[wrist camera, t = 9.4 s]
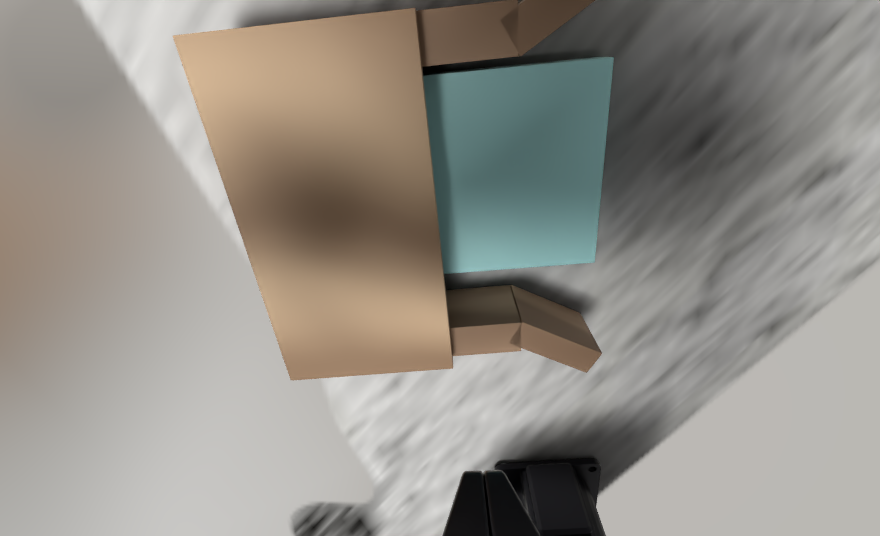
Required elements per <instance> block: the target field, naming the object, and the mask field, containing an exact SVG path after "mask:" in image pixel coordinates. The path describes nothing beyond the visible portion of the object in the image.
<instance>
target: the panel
mask: <svg viewBox="0 0 880 536" xmlns="http://www.w3.org/2000/svg"><path fill="white" fill-rule="evenodd" d="M613 61H614V57H593V58H583V59H573V60H563V61H552V62H542V63H532V64H522V65H511V66H501V67H491V68H481V69H470V70H460V71H450V72H440V73H429V74H423V80H424V89H425V99H426V108H427V118H428V127H429V137H430V146H431V156H432V165H433V175H434V184H435V194H436V203H437V213H438V222H439V232H440V241H441V251H442V260H443V270H444V274H450V273H463V272H476V271H489V270H502V269H515V268H528V267H542V266H555V265H568V264H581V263H594V262H595V253H596V242H597V232H598V221H599V210H600V200H601V189H602V178H603V168H604V157H605V146H606V136H607V125H608V114H609V104H610V93H611V82H612V72H613Z"/></svg>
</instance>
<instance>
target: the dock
mask: <svg viewBox="0 0 880 536" xmlns="http://www.w3.org/2000/svg"><path fill="white" fill-rule="evenodd" d="M594 1H595V0H522V1H521V2H519V3H518V0H505V1H496V2H487V3H479V4H470V5H461V6H452V7H444V8H435V9H426V10H418V11H416V9H415V8H409V9H401V10H392V11H383V12H375V13H366V14H357V15H348V16H340V17H331V18H322V19H314V20H305V21H296V22H288V23H279V24H270V25H262V26H253V27H244V28H235V29H227V30H218V31H209V32H201V33H192V34H183V35H175V36H173V38H174V41H175V44H176V47H177V50H178V53H179V56H180V59H181V62H182V65H183V67H184V70H185V73H186V76H187V79H188V82H189V85H190V88H191V91H192V94H193V97H194V100H195V102H196V105H197V108H198V111H199V114H200V117H201V120H202V123H203V126H204V129H205V132H206V134H207V137H208V140H209V143H210V146H211V149H212V152H213V155H214V158H215V161H216V164H217V166H218V169H219V172H220V175H221V178H222V181H223V184H224V187H225V190H226V193H227V196H228V199H229V201H230V204H231V207H232V210H233V213H234V216H235V219H236V222H237V225H238V228H239V231H240V233H241V236H242V239H243V242H244V245H245V248H246V251H247V254H248V257H249V260H250V263H251V265H252V268H253V271H254V274H255V277H256V280H257V283H258V286H259V289H260V291H261V295H262V298H263V300H264V303H265V306H266V309H267V312H268V315H269V318H270V321H271V324H272V327H273V330H274V332H275V335H276V338H277V341H278V344H279V347H280V350H281V353H282V356H283V359H284V362H285V364H286V367H287V370H288V373H289V376H290V379H291V380H302V379H317V378H330V377H344V376H357V375H371V374H384V373H398V372H411V371H425V370H438V369H451V368H453V356H461V355H474V354H487V353H500V352H513V351H521V348H523V349H526V350H528V351H531V352H534V353H536V354H539V355H541V356H544V357H547V358H549V359H552V360H555V361H557V362H560V363H562V364H565V365H568V366H570V367H573V368H576V369H578V370H581V371H583V372H586V373H587V372H588V371H589V369H590V368H591V367H592V366H593V364H594V363H595V362H596V361H597V359H598V358H599V357H600V356H601V354H602V352H601V350H600V349H599V347H598V345H597V343H596V341H595V339H594V338H593V336H592V334H591V332H590V330H589V328H588V326H587V325H586V323H585V321H584V319H583V317H582V315H581V314H580V313H579V312H577V311H574V310H572V309H569V308H567V307H564V306H562V305H560V304H557V303H555V302H552V301H550V300H547V299H545V298H543V297H540V296H538V295H535V294H533V293H530V292H528V291H526V290H523V289H521V288H518V287H516V286H513V285H503V286H491V287H479V288H467V289H455V290H446V289H445V279H444V270H443V260H442V251H441V241H440V232H439V222H438V213H437V203H436V194H435V184H434V175H433V165H432V156H431V146H430V137H429V127H428V118H427V108H426V99H425V89H424V80H423V70H422V67H424V66H433V65H442V64H452V63H461V62H470V61H479V60H488V59H498V58H507V57H521V56H522V55H524V54H525V53H526V52H528V51H529V50H530V49H532V48H533V47H534V46H535V45H537V44H538V43H539V42H541V41H542V40H543V39H545V38H546V37H547V36H549V35H550V34H551V33H553V32H554V31H555V30H557V29H558V28H559V27H561V26H562V25H563V24H565V23H566V22H567V21H569V20H570V19H571V18H573V17H574V16H575V15H577V14H578V13H579V12H581V11H582V10H583V9H585V8H586V7H587V6H588V5H590V4H591V3H592V2H594Z"/></svg>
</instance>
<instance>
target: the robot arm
mask: <svg viewBox="0 0 880 536" xmlns="http://www.w3.org/2000/svg"><path fill="white" fill-rule="evenodd" d="M600 470H601V468H600V465H599V462H598V460H597V459H594V458H586V459H571V460H555V461H539V462H523V463H508V464H499V465H497V466H496V467H495V469H494V470H488V471H485V472H484V473H482V472H481V471H465V472H464V473H463V474H462V477H461V480H460V483H459V486H458V489H457V492H456V495H455V499H454V502H453V505H452V508H451V511H450V514H449V517H448V520H447V523H446V526H445V529H444V533H443V536H606V535H605V532H604V529H603V526H602V523H601V521H600V518H599V515H598V512H597V509H596V503H597V495H598V487H599V478H600Z"/></svg>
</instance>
